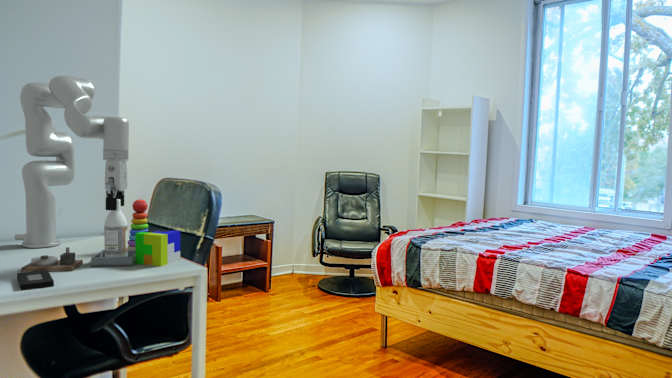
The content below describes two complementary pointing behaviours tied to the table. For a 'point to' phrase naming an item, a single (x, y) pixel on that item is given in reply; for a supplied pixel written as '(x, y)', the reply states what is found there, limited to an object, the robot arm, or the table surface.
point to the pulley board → (52, 267)
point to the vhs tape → (35, 280)
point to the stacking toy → (138, 221)
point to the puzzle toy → (157, 247)
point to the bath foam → (116, 233)
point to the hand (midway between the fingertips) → (115, 208)
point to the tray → (113, 260)
